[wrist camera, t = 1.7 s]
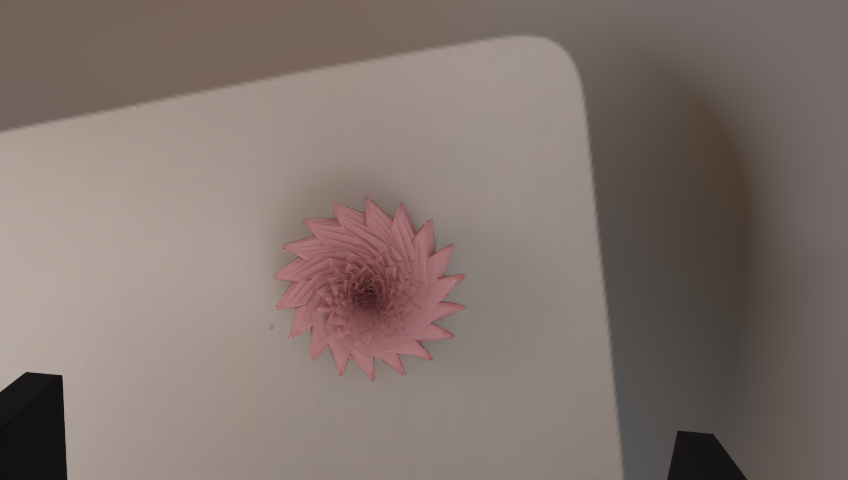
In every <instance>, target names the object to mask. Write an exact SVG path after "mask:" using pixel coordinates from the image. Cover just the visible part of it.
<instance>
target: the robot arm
mask: <svg viewBox="0 0 848 480" xmlns="http://www.w3.org/2000/svg"><path fill="white" fill-rule="evenodd" d="M0 480H67V465H66V443H65V422H64V400H63V379H62V375H53V374H41V373H30V372H26V373H24V374H23V375H22V376H20V377H19V378H18V379H17V380H15V381H14V382H13V383H11V384H10V385H9V386H7V387H6V388H5V389H4V390H2V391H1V392H0ZM668 480H747V479H746V477H745V476H744V475H743V473H742V472H741V471H740V469H739V468H738V467H737V465H736V464H735V463H734V461H733V460H732V459H731V457H730V456H729V455H728V453H727V452H726V451H725V449H724V448H723V447H722V445H721V444H720V443H719V441H718V440H717V439H716V437H715V436H714V434H707V433H697V432H686V431H678V432H677V436H676V441H675V446H674V451H673V455H672V460H671V465H670V470H669V475H668Z"/></svg>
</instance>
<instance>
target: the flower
mask: <svg viewBox="0 0 848 480" xmlns="http://www.w3.org/2000/svg"><path fill="white" fill-rule="evenodd" d="M332 207H333V209H334V214H335V216H336V218H325V219H305V221H303V222H304V224H305V225H306V226H307V227H308V229H309V230H310V231H311V232H312V233H313V234H314V235H315V236H313V237H310V238H306V239H302V240H299V241H295V242H291V243H287V244H284V245H282V246H284V248H283V249H285V250H287V251H289V252H291V253H293V254H295V255H297V256H298V257H297V258H296V259H295V260H294V261H293V262H292V263H290V264H289V265H287V266H286V267H285V268H283V269H282V270H280V271H279V272H277V273H276V274H274V275H275V276H273V277H275V279H281V280H286V281H293V282H292V284H291V285H290V286H289V288H288V289H287V291H286V292H285V294H284V295H283V297H282V298H281V299H280V301H279V302H278V304H277V305H276V308H278V307H279V308H278V309H277V310H279V309H284V308H285V309H286V308H291V307H297V308H296V312H295V316H294V320H293V324H292V328H291V332H290V335H289V337H288V338H290V337H292V338H293V337H295V336H297V335H298V334H300V333H302V332H303V331H305V330H307V329H308V328H310V327H311V350H310V359H311V358H312V361H314V360H315V359H316V358H317V356H319V354H320V353H321V352H322V351H323V350H324V348H325V347H326V346H327V345H328V346H329V349H330V351H331V354H332V356H333V359H334V361H335V364H336V367H337V370H338V374H339V375H340V376H341V373H342V375H343V372H344V369H345V366H346V363H347V360H349V357H350V355H351V357H352V358H353V359H354V360H355V361H356V362H357V364H358V365H359V366H360V367H361V368H362V369H363V371H364V372H365V373H366V375H367V376H368V377H369V378H370V380H371V379H372V381H373V378H374V379H375V373H374V357H376V358H379V359H381V360H382V361H384V362H385V363H386V364H388V365H389V366H390V367H392V368H393V369H394V370H396V371H397V372H398V373H400V374H401V375H402V376H404V375H403V374H406V373H405V371H404V368H403V365H402V363H401V360H400V358H399V356H398V354H406V355H413V356H417V357H420V358H423V359H426V360H429V361H432V360H433V359H432V358H433V357H432V356H431V355H430V354H429V353H428V352H427V351H426V350H425V349H424V348H423V347H424V346H423V345H422V344H421V343H420V342H423V341H431V340H438V339H446V338H452V337H455V336H454V335H452V334H453V333H451V332H449V331H447V330H445V329H443V328H441V327H439V326H437V325H435V324H433V323H431V322H433V321H435V320H438V319H441V318H443V317H446V316H448V315H451V314H454V313H456V312H459V311H461V310H464V309H466V308H464V307H463V306H464V305H458V304H456V303H449V302H442V301H443V300H444V299H445V298H446V296H447V295H448V294H449V292H450V291H451V290H452V288H453V287H454V286H456V285H457V284H458V283H459V282H460V281H462V280H463V279H464V278H465V277H466V276H465V275H466V274H459V275H454V276H446V277H443V276H444V273H445V271H446V268H447V265H448V262H449V259H450V256H451V253H452V250H453V248H454V246H453V247H452V245H453V244H449V245H448V246H446V247H444V248H443V249H441V250H439V251H438V252H436V253H435V246H434V237H433V228H432V227H433V219H432V220H431V221H430V220H428V221H427V223H426V224H425V225H423V226H422V227H421V229H420V230H419V231H418V232H416V230H415V228H414V226H413V224H412V222H411V220H410V218H409V215H408V213H407V211H406V209H405V207H404V205H403V204H401V202H400V203H399V206H398V208H397V209H396V212H395V216H394V219H391V218H390V217H389V216H388V215H387V214H385V213H384V212H383V211H382V210H380V209H379V208H378V206H377V205H376V204H375V203H374V202H373V201H372V200H371V199H370V198H369V197H368V196H367V199H366V198H365V213H363V212H359V211H356V210H354V209H351V208H348V207H345V206H342V205H340V204H337V203H334V202H333V204H332ZM451 336H452V337H451ZM433 361H434V360H433Z"/></svg>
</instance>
